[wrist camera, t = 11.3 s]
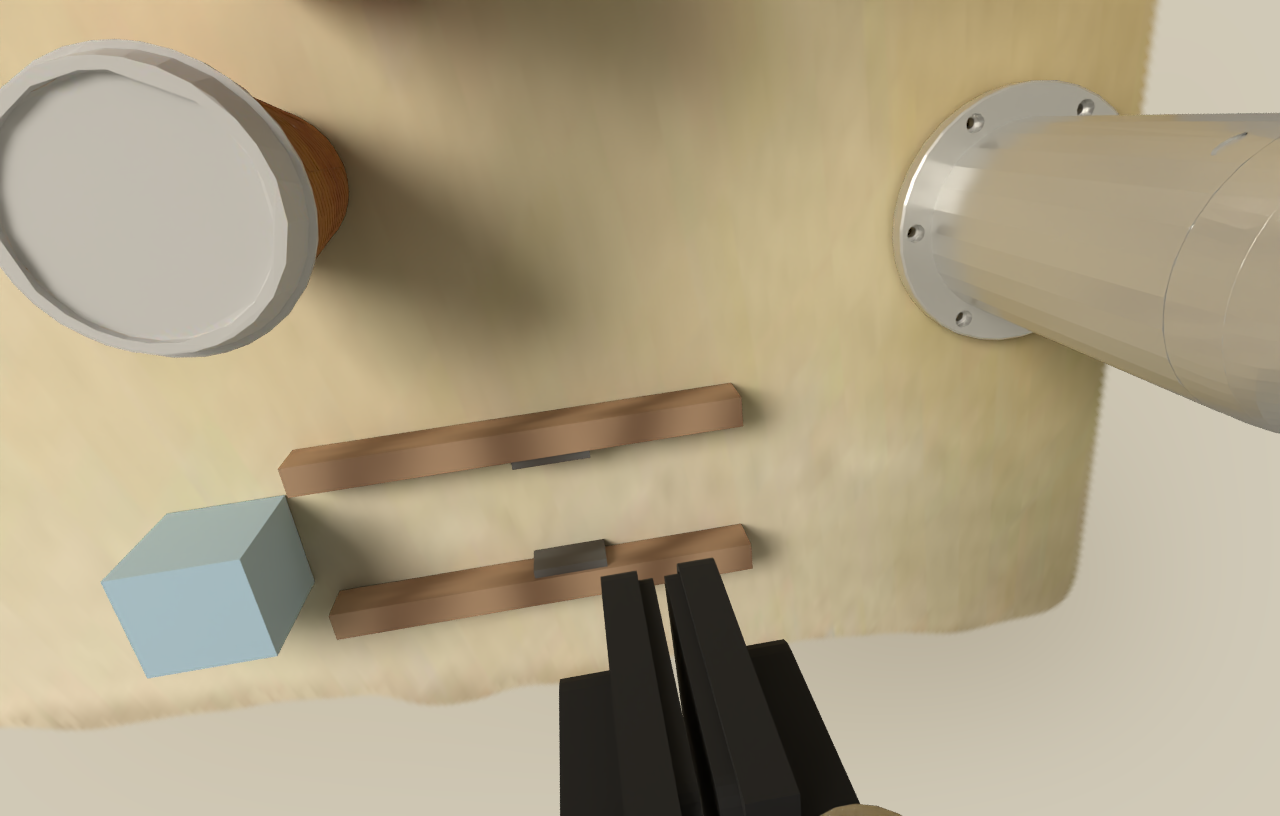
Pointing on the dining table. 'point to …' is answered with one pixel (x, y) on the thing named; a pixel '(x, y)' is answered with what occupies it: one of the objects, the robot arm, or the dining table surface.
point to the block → (212, 586)
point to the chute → (523, 447)
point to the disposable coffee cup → (159, 199)
